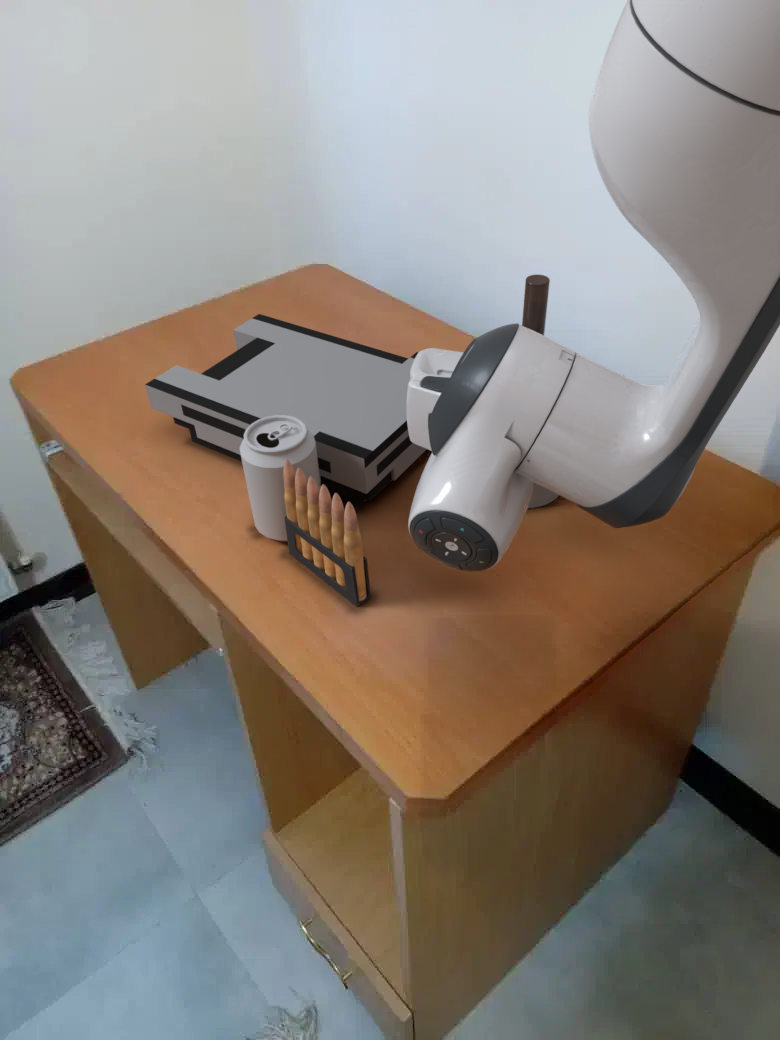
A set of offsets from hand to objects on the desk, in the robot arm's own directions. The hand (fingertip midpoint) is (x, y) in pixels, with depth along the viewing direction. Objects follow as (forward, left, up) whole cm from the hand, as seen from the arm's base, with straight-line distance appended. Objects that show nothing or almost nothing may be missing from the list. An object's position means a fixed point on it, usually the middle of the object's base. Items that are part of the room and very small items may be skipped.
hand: (532, 351), depth 79 cm
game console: (+27, -2, -16) cm, 31 cm away
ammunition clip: (+15, +21, -16) cm, 30 cm away
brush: (0, +1, -10) cm, 10 cm away
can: (+22, +15, -16) cm, 31 cm away
